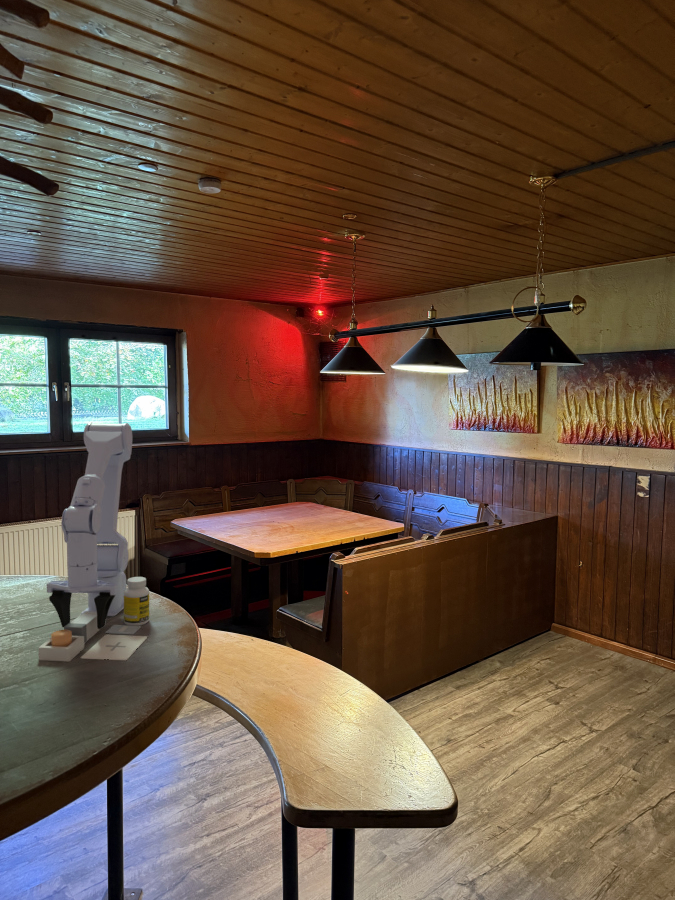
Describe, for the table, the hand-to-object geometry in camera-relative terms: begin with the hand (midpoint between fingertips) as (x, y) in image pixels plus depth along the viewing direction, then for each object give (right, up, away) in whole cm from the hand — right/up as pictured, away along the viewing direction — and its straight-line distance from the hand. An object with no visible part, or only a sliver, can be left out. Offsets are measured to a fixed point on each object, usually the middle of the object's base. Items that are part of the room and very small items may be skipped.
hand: (83, 626), depth 127 cm
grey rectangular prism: (0, -2, 0) cm, 2 cm away
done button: (-1, -2, -9) cm, 9 cm away
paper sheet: (+9, -3, -5) cm, 10 cm away
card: (+7, -2, +3) cm, 8 cm away
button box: (-1, -3, -9) cm, 9 cm away
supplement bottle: (+8, -2, +8) cm, 12 cm away
